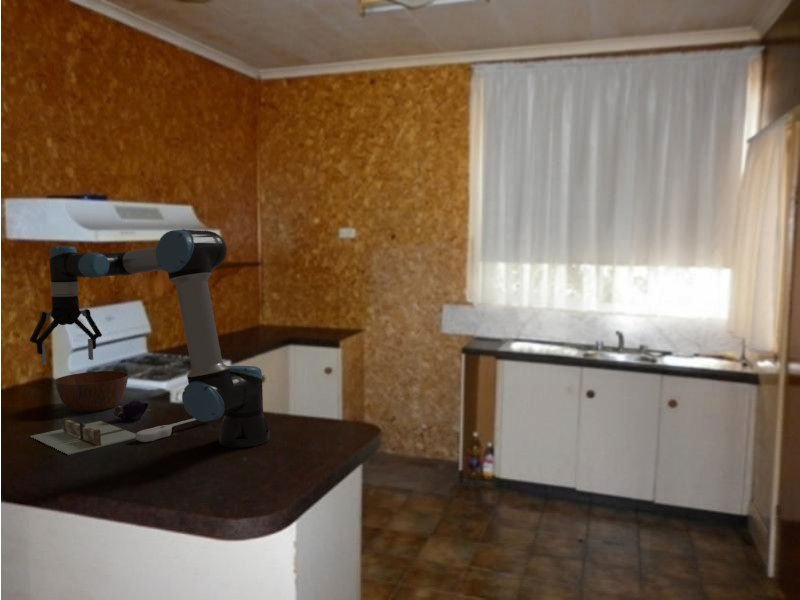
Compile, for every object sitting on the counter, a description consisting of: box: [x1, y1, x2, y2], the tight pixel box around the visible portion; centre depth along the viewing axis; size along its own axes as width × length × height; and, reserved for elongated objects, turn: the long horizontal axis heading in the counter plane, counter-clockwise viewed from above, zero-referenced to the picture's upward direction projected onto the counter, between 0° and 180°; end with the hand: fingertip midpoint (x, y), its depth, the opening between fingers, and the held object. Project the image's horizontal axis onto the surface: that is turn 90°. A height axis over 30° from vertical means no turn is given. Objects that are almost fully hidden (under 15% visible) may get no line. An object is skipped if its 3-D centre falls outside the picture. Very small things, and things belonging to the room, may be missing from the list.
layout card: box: [30, 420, 136, 456], centre depth 198 cm, size 28×22×1 cm
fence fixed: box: [79, 421, 101, 446], centre depth 191 cm, size 11×1×6 cm, turn 50°
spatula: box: [135, 417, 197, 443], centre depth 202 cm, size 28×6×3 cm, turn 145°
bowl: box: [54, 370, 129, 413], centre depth 236 cm, size 25×25×11 cm
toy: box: [112, 398, 152, 421], centre depth 218 cm, size 11×12×7 cm
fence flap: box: [62, 417, 80, 437], centre depth 199 cm, size 11×1×4 cm, turn 50°
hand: (67, 361), depth 200 cm, fingers open, 13 cm apart
